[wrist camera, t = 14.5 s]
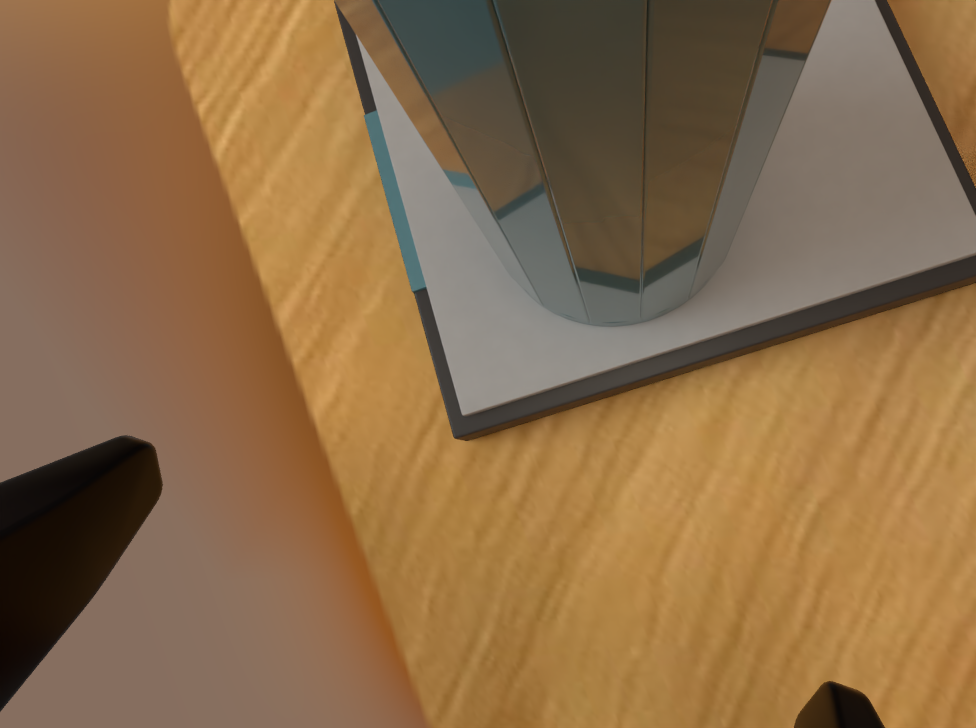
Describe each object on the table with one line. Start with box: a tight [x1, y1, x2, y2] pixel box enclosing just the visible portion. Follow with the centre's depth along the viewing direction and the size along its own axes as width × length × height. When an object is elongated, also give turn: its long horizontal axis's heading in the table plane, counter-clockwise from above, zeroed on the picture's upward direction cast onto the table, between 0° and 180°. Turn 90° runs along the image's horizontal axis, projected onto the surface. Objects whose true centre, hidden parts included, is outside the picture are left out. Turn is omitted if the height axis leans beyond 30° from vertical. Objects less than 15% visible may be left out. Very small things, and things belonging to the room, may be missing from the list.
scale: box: [334, 0, 976, 441], centre depth 21 cm, size 15×15×2 cm
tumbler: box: [334, 0, 832, 327], centre depth 12 cm, size 7×7×16 cm
